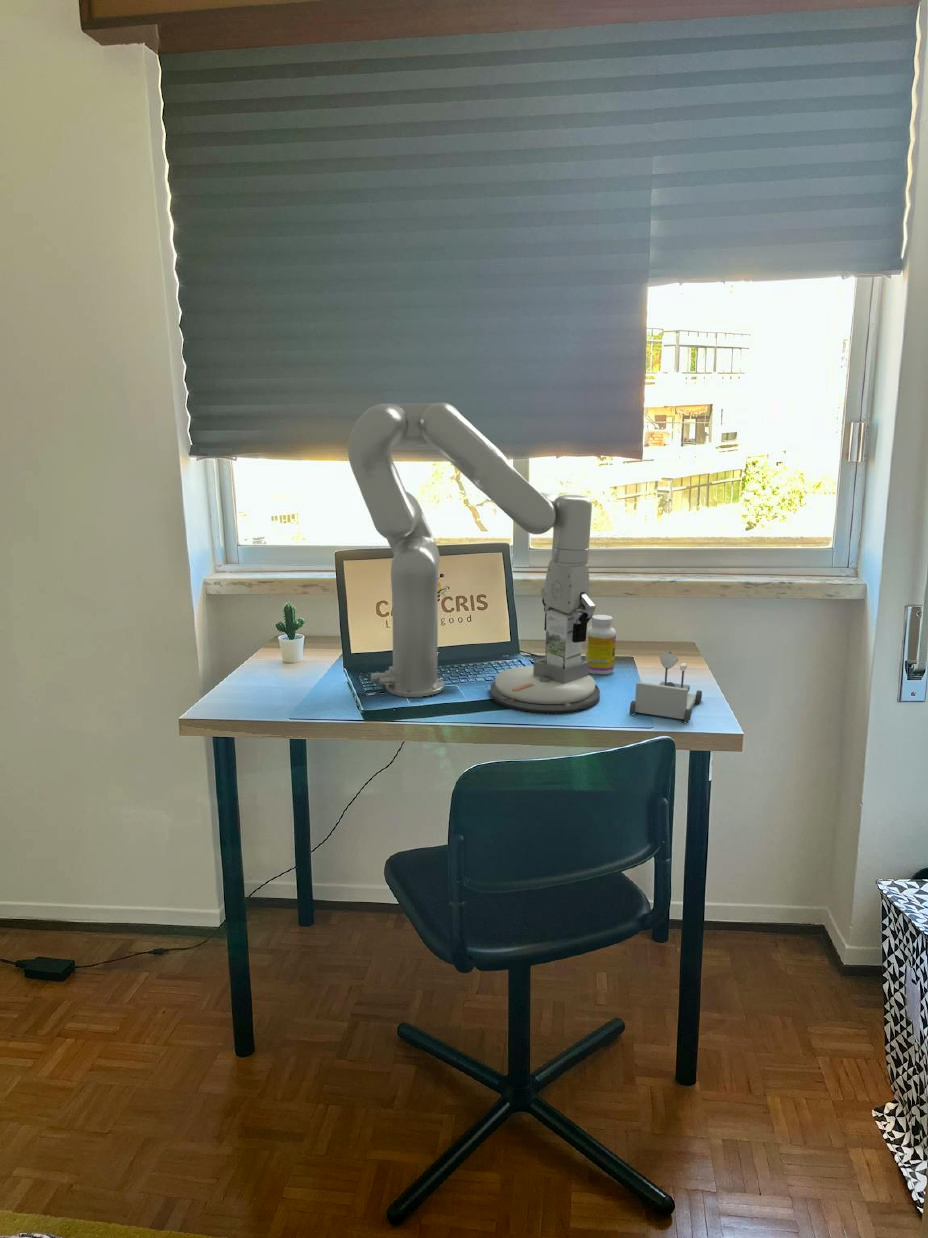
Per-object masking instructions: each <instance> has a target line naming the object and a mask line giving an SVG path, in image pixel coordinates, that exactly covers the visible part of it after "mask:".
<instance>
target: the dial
mask: <svg viewBox="0 0 928 1238" xmlns="http://www.w3.org/2000/svg"><path fill="white" fill-rule="evenodd" d="M589 674H590V673H589V662H587V661H585V660H582V659H581V664H578V665H575V666H572V667H569V668H566V669H563V668H559V667H555V666H552V665H548V664H545V657H544V658H540V659H537V660H535V661H533V665H527V666H526V665H525V666H523V665H522V666H517V667H513V668H509V669H505V670H504V671H501V672H499V673H498V674H497V675H496V677H495V680H494V681H495V688H496V690H497V691H498V692H499V693H501V694H502V695H504V696H506V697H509V698H511V699H515V700H519V701H523V702H529V703H537V704H564V703H572V702H578V701H581V700H584V699H587V698H589V697H591V696H592V695H593V694H594V693H595V685H596V681H595V679H594V677H592V676H591V675H589Z"/></svg>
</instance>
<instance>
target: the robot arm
mask: <svg viewBox="0 0 928 1238" xmlns="http://www.w3.org/2000/svg"><path fill="white" fill-rule="evenodd" d="M395 445H397V446H398V445H430V446H432V448H433V449H435V450H436V451H437V452H438V453H439V454H440V455H442V456H443V458H445V459H446V460H447V461H448V462H449V463H451V465H453V466H454V467H455V468H456V469H457V470H458V471H459V472H460V473H462V475H463V476H464V477H466V478H467V479H468V481H470V482H471V484H473V485H474V486H475V487H476V488H477V489H479V491H480V492H482V493H483V494H484V495H486V496H487V497H488V499H490V500H491V501H492V502H493V503H494V504H495V505H496V506H497V507H498V508H499V509H500V510H501V511H503V513H505V514H506V515H507V516H508V517H509V518H511V520H512V521H513V522H515V523H516V525H518V527H520V528H521V529H522V530H523V531H525V532H526V533H528V534H532V535H543V534H546V533H547V532H548V531H550V530H551V529H553V530H552V544H551V545H552V547H551V559H549V562H548V566H547V569H546V575H545V581H544V587H542V588H540V595H541V598H542V599H541V602H542V604H543V611H544V614H545V615H544V628H543V629H544V631H545V632H546V614H547V611H549V610H551V609H556V610H559V611H562V612H565V613H572V615H573V617H574V620H575V622H576V623H573V634H572V642H574V643H577V642H586V639H587V630H588V624H589V623H590V621H591V620H592V616H594V615H593V614H594V613H595V610H596V605H595V603H593V601H592V600H591V598H590V572H589V571H590V569H589V565H588V564H589V555H590V554H589V551H590V538H591V526H592V525H591V524H592V511H593V503H592V499H590V498H589V497H587V496H583V495H577V494H564V495H559V494H557V495H556V494H550V493H544V492H539V490H538V489H536V487H534V486H533V485H532V484H531V483H530V482H529V481H528V480H527V479H525V478H524V476H522V475H521V474H520V472H518V470H516V469H515V467H514V466H513V465H512V464H511V463H510V462H509V460H508V458H507V457H506V455H505V454H503V452H502V450H501V449H499V448H498V446H496V445H495V444H494V443H493V442H492V441H490V440H489V439H488V438H487V437H486V436H485V435H484V434H483V433H482V432H481V431H479V429H477V428H476V427H475V426H474V425H473V424H472V423H471V422H470V421H469V420H468V419H466V418H465V417H464V416H463V415H462V414H461V413H460V411H459V410H458V409H457V408H456V407H455V406H454V405H452V404H450V403H448V402H431V403H430V402H428V403H426V402H425V403H379V404H375V405H373V406H371V407H369V408H368V409H367V410H366V411H364V412H363V413H362V414H361V416H360V417H359V418H358V419H357V421H356V422H355V424H354V426H353V427H352V430H351V432H350V434H349V437H348V441H347V455H348V460H349V466H350V468H351V471H352V473H353V475H354V478H355V481H356V483H357V486H358V489H359V491H360V493H361V496H362V498H363V501H364V503H365V505H366V508H367V510H368V513H369V515H370V518H371V520H372V524H373V525H374V528H375V530H376V532H378V534H380V536H382V537H383V538H384V539H387V543H388V546H389V547H390V549H391V552H392V554H393V557H392V559H391V566H390V567H391V568H390V583H391V584H390V585H391V586H390V587H391V601H392V603H391V606H392V607H391V608H392V611H391V613H392V614H391V615H392V666H391V665H390V666H388V670H385V671H384V672H372V673H370V682H371V683H378V682H379V685H385V690H386V691H387V692H388V693H389V694H392V695H395V696H398V697H404V698H424V697H423V696H427V697H429V696H428V695H431V694H436V695H438V694H440V693H441V691H442V690H443V691H444V690H445V688H444V687H445V682H444V681H443V680H442V679H441V678H439V677H438V645H439V644H438V643H439V641H438V638H439V637H438V635H439V633H438V632H439V631H438V624H439V623H438V621H439V619H438V617H439V616H438V611H439V609H438V608H439V607H438V604H439V603H438V602H439V601H438V600H439V598H438V596H439V595H438V589H439V587H438V585H439V584H438V582H439V581H438V580H439V579H438V578H439V566H440V560H441V557H440V551H439V548H438V545H437V543H436V541H435V538H434V536H433V533H432V530H431V528H430V525H429V524H428V522H427V521H428V520H427V519H426V517H425V514H424V512H423V509H422V507H421V505H420V503H419V502H418V500H417V499H416V498H415V496H414V495H413V494H411V493H410V492H408V491H406V488H405V487H404V485H403V482H402V480H401V476H400V474H399V471H398V468H397V467H396V465H395V463H394V461H393V458H392V447H393V446H395ZM578 613H581V616H580V617H579V614H578ZM443 691H442V692H443ZM439 692H440V693H439ZM437 693H438V694H437Z"/></svg>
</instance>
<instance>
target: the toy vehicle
mask: <svg viewBox="0 0 928 1238" xmlns="http://www.w3.org/2000/svg"><path fill="white" fill-rule="evenodd" d="M659 660H660V664H661V666H662V667H663V668H664V669H665V670H664V671H665V672H664V681H660V683H659V684H656V683H650V682H648V683H647V682H643V681H637V682H636V684H635V697H634V698H635V699H634V700H632V701H630V704H629V705H630V706H629V715H630V714H634V713H635V712H636V713H639V714H640V713H641V714H647V715H654V716H659V717H667V718H673V719H678V720H683V723H684V722H686V723H688V721H689V720H690V721H691V718H692V717H691V716H692V708H693V707H694V705H700V704H701V702H702V698H703V697H702V695H703V693H702V692H703V691H702V690H699V689H698V690H696V693H695V694H691V693H689V691H691V690H690V689H691V685H690V684H689V685H688V684H684V680H685V679H684V678H685V671H686V670H687V666H688V664H687V663H686V662H682V663H681V664H680V667H679V670H680V671H682V672H681V682H680V683H675V682H671V681H669V682H667V681H668V670H669V669H671V668H673V667H674V666H675V665H676V664H677V663H678V662H679V657H678V656H676V655H675V654H673V653H672V651H668V652H662V653H661V654H660V655H659ZM695 703H696V704H695ZM636 713H635V714H636ZM690 721H689V722H690ZM686 723H685V724H686ZM688 724H689V723H688Z"/></svg>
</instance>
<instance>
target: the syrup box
mask: <svg viewBox="0 0 928 1238" xmlns="http://www.w3.org/2000/svg"><path fill="white" fill-rule="evenodd" d="M578 614H579V617H580V616H581V613H578ZM573 623H576V622H575V620H574V617H573V615H572V613H565V612H562V611H559V610H556V609H551V610H549V611H547V614H546V631H545V651H544V652H545V655H544V658H545V664H548V665H552V666H555V667H559V668H563V669H566V668H569V667H572V666H575V665H578V664H581V660H582V644H583V643H582V642H577V643H574V642H572V634H573Z"/></svg>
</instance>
